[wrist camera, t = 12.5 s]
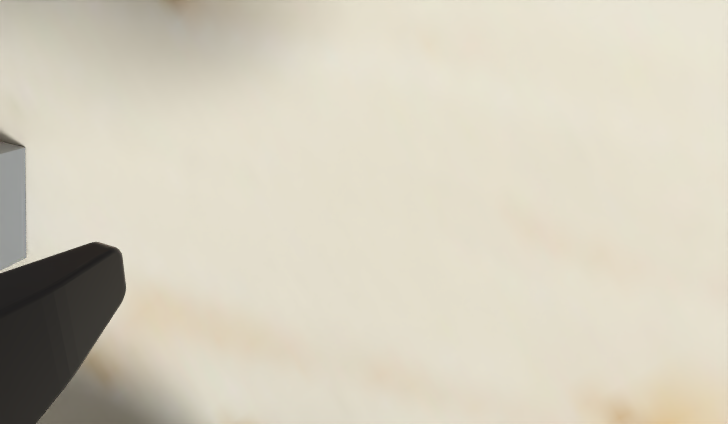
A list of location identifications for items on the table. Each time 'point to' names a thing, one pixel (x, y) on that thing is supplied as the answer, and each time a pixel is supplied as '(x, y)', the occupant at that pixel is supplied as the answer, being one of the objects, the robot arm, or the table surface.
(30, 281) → the robot arm
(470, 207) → the table surface
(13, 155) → the grey cube
